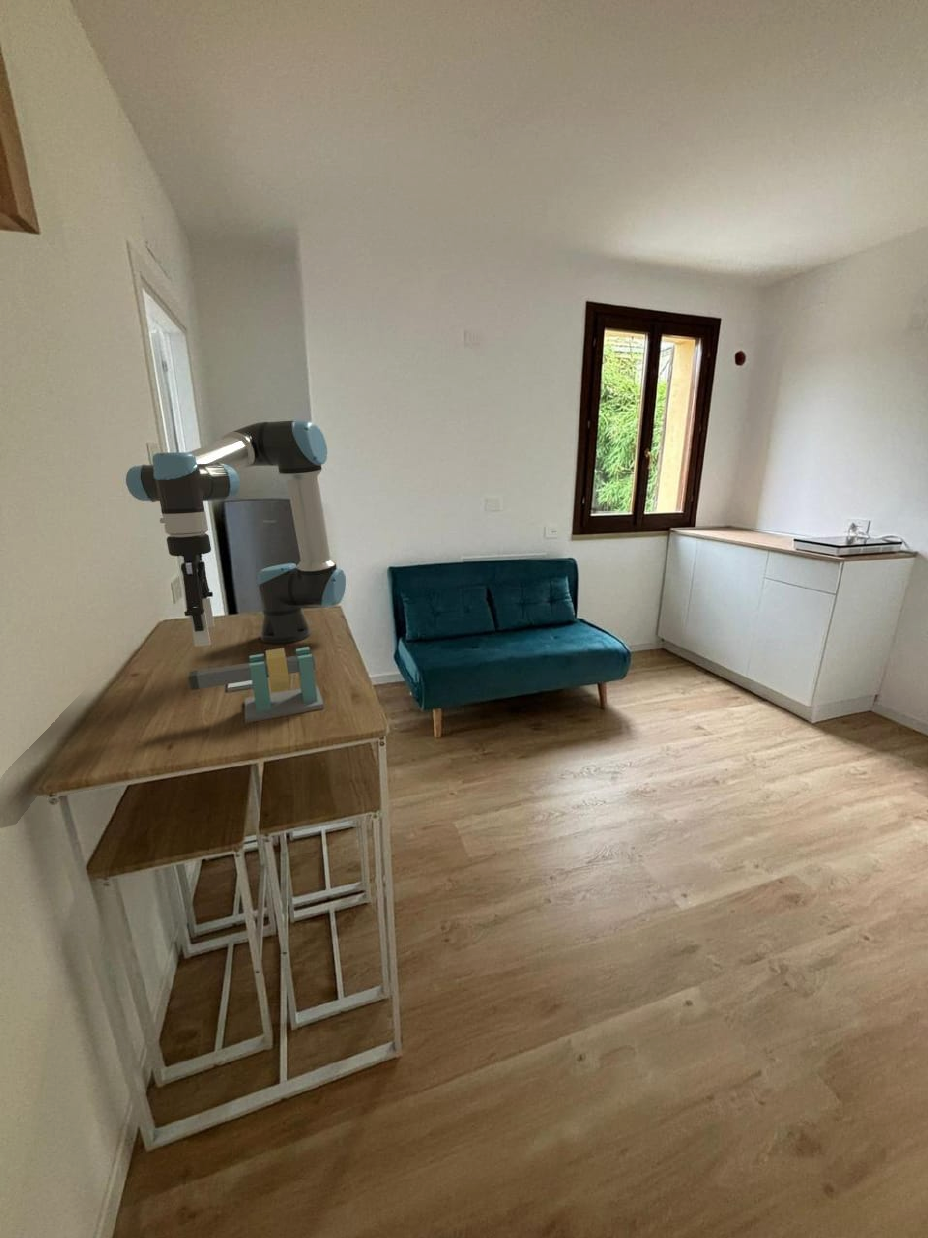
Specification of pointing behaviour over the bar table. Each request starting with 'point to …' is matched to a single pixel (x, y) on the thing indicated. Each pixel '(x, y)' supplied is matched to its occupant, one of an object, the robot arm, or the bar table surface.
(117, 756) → the bar table surface
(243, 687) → the hard drive
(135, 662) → the bar table surface
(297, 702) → the block
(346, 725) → the bar table surface
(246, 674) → the shaft
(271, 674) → the block
